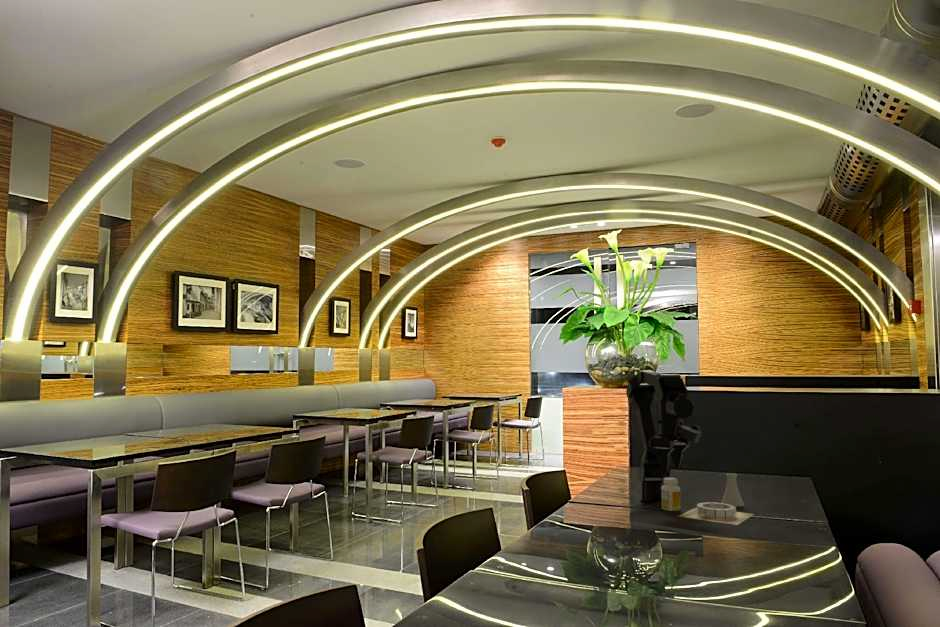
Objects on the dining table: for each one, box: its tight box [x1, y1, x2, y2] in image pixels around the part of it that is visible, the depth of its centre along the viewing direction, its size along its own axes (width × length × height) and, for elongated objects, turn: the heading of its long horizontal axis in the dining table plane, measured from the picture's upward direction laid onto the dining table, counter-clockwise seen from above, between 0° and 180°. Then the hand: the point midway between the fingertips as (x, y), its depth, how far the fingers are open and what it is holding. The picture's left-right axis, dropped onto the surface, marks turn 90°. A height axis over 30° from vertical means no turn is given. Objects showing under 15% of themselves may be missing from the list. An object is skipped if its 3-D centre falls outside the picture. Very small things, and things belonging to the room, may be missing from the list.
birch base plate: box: [677, 506, 755, 526], centre depth 186 cm, size 16×16×1 cm
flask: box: [720, 472, 745, 508], centre depth 201 cm, size 7×7×10 cm
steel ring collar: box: [696, 501, 737, 519], centre depth 186 cm, size 10×10×2 cm
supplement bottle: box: [660, 477, 682, 512], centre depth 194 cm, size 5×5×10 cm
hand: (671, 470), depth 195 cm, fingers open, 9 cm apart
